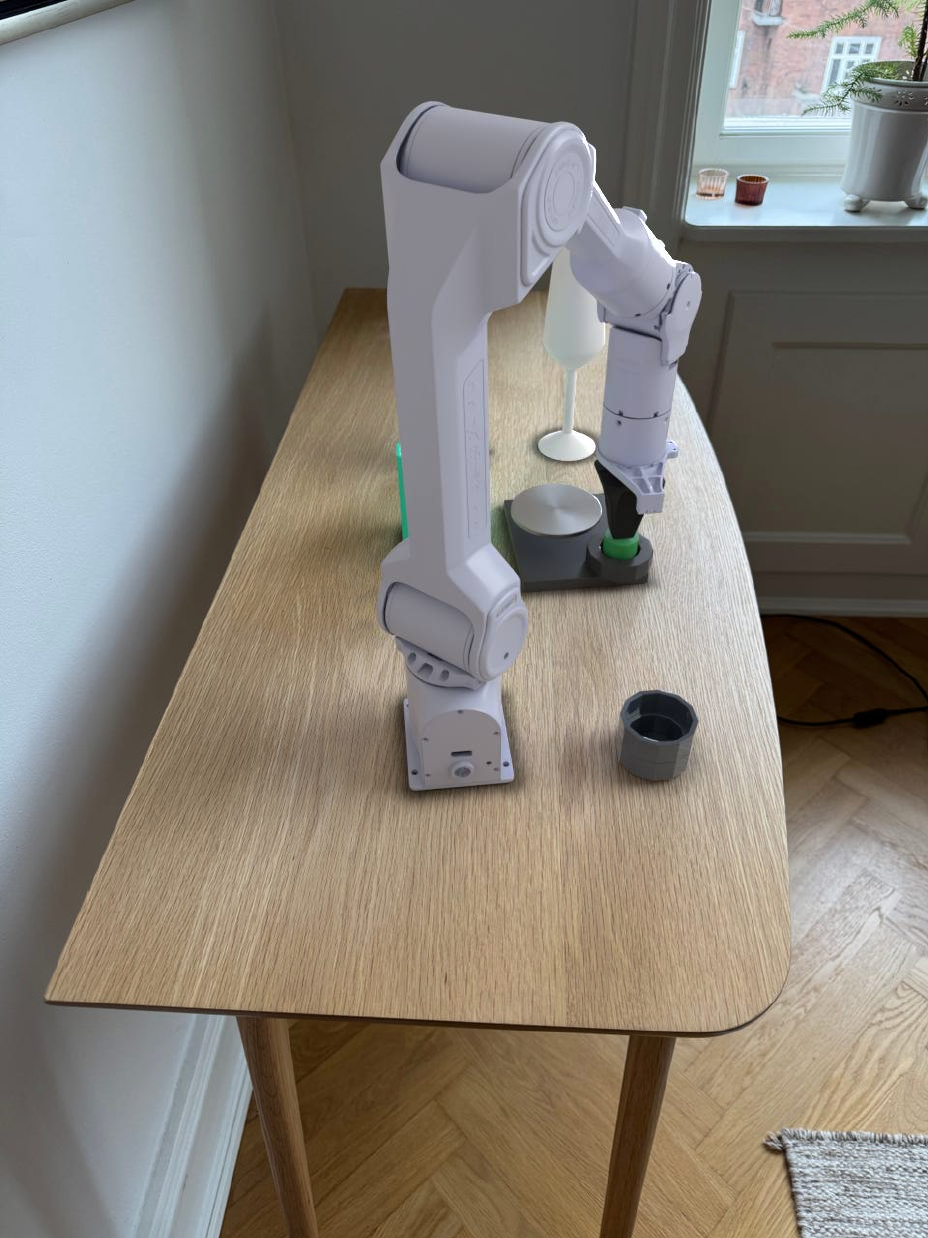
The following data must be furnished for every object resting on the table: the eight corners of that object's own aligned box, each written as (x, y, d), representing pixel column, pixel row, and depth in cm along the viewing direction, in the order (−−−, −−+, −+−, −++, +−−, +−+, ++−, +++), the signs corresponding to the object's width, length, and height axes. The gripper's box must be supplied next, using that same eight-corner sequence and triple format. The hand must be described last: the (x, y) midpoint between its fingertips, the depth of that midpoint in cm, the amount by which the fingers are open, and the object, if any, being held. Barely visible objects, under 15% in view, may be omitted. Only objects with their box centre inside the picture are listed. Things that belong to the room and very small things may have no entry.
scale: (656, 589, 87) (660, 564, 85) (524, 599, 86) (525, 574, 84) (620, 501, 98) (622, 477, 96) (503, 509, 97) (504, 485, 95)
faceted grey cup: (697, 781, 69) (706, 741, 66) (625, 787, 69) (631, 748, 66) (677, 726, 74) (685, 687, 71) (608, 732, 73) (614, 693, 70)
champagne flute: (606, 453, 105) (627, 239, 89) (553, 465, 103) (565, 249, 88) (579, 426, 110) (594, 219, 94) (528, 438, 108) (535, 228, 92)
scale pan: (610, 535, 88) (610, 531, 88) (517, 542, 88) (518, 537, 87) (591, 484, 95) (591, 480, 95) (505, 490, 94) (505, 486, 94)
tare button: (640, 559, 86) (642, 544, 85) (606, 561, 86) (608, 546, 84) (632, 539, 88) (634, 524, 87) (599, 541, 88) (601, 526, 87)
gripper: (709, 443, 72) (685, 579, 80) (661, 361, 82) (644, 488, 91) (621, 449, 71) (606, 585, 80) (584, 366, 82) (574, 493, 91)
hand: (621, 534), depth 86 cm, fingers closed
